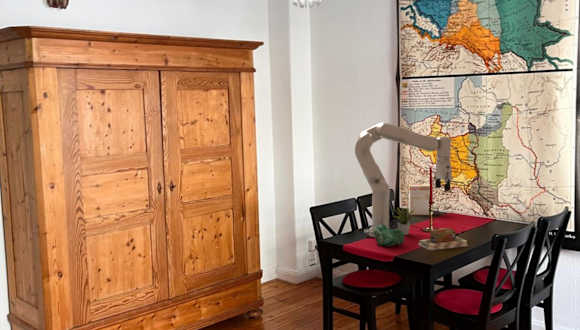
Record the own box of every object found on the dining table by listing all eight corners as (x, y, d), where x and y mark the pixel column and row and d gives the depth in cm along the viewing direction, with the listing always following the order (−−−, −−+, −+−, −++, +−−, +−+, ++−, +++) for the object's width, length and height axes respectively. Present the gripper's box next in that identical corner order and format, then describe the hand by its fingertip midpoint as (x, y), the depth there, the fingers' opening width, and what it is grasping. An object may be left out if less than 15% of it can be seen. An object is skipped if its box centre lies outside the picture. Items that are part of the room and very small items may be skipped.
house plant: (417, 237, 332) (417, 209, 330) (392, 237, 335) (392, 208, 333) (417, 231, 346) (417, 204, 344) (392, 230, 349) (393, 203, 347)
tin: (431, 246, 313) (431, 230, 312) (428, 244, 316) (428, 229, 315) (456, 243, 318) (456, 227, 317) (452, 241, 321) (453, 226, 320)
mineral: (365, 245, 320) (366, 226, 318) (381, 239, 332) (381, 221, 330) (395, 250, 308) (396, 232, 306) (411, 244, 320) (411, 226, 318)
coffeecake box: (431, 213, 396) (431, 184, 393) (432, 215, 389) (433, 185, 386) (408, 212, 397) (408, 184, 394) (409, 215, 390) (409, 185, 387)
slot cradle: (430, 250, 307) (430, 245, 307) (418, 244, 319) (418, 239, 318) (468, 245, 315) (468, 241, 314) (454, 240, 326) (455, 235, 325)
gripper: (457, 160, 324) (456, 191, 326) (441, 157, 340) (440, 186, 342) (445, 161, 322) (444, 192, 324) (429, 157, 338) (428, 187, 340)
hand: (442, 189), depth 333 cm, fingers open, 9 cm apart
